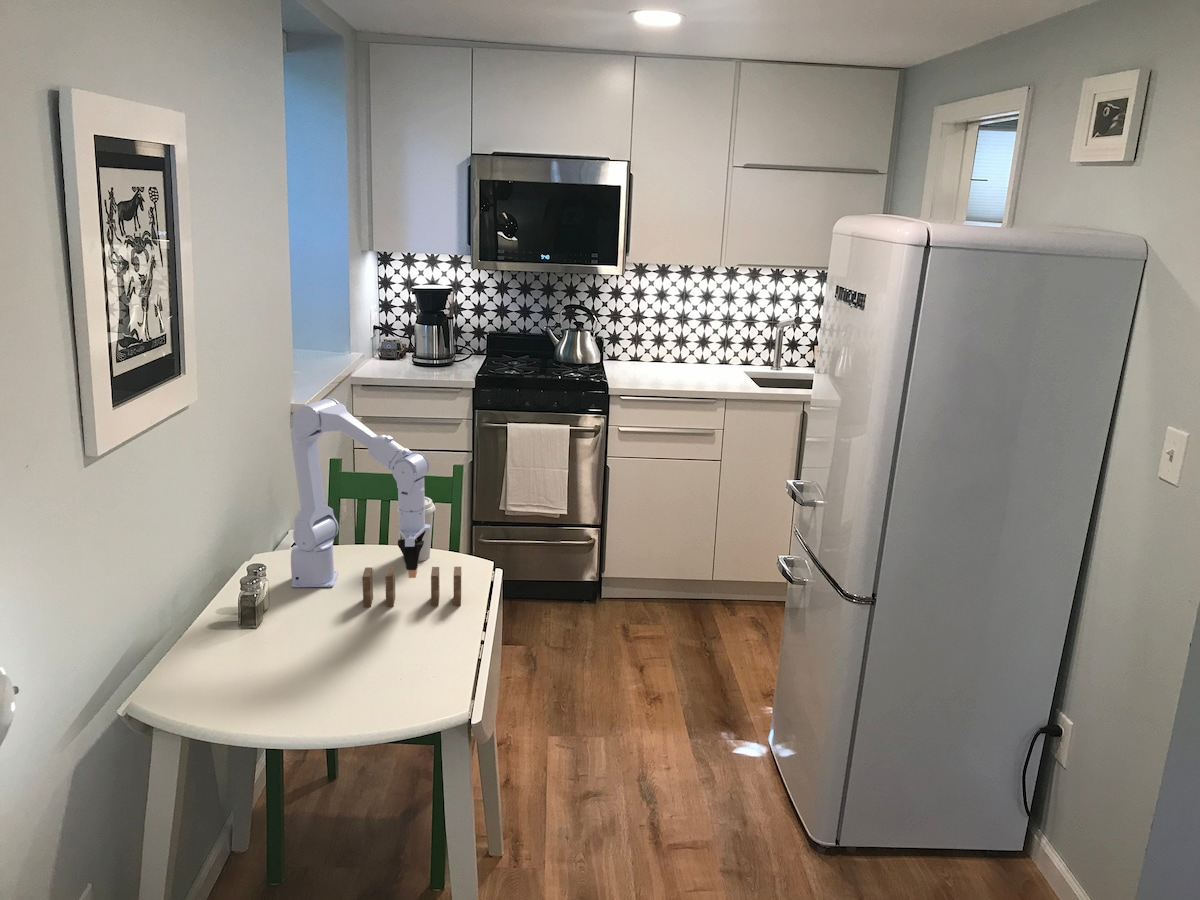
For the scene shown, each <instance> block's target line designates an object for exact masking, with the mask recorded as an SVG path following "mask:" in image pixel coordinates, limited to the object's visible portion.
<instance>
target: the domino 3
mask: <svg viewBox="0 0 1200 900" xmlns="http://www.w3.org/2000/svg"><path fill="white" fill-rule="evenodd" d="M416 541H417V538H416ZM407 571H408V572H407V573H408V575H407V576H408V579H416V578H417V574H418V568H417V569H416V570H407Z"/></svg>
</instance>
